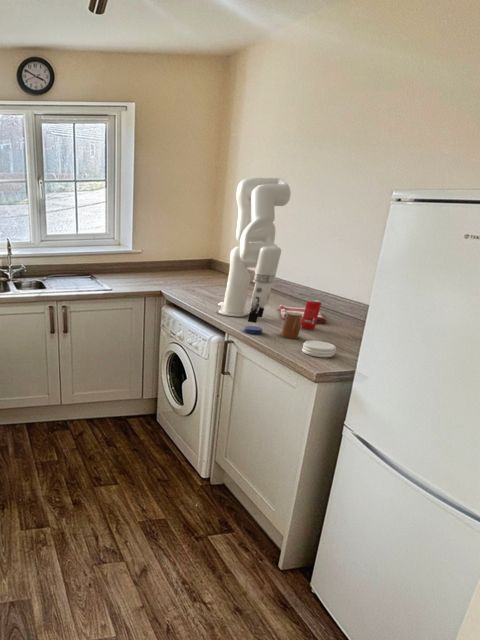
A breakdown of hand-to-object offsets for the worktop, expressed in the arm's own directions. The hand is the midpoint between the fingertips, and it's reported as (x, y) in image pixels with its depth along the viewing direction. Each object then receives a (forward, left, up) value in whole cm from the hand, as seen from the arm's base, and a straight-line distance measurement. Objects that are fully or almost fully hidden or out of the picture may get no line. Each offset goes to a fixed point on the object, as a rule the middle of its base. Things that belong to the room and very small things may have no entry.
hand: (254, 319), depth 189 cm
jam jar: (+11, +9, -5) cm, 15 cm away
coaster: (+30, 0, -6) cm, 30 cm away
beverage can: (+5, +27, -6) cm, 28 cm away
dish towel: (-11, +43, -6) cm, 44 cm away
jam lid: (+1, 0, -4) cm, 4 cm away
